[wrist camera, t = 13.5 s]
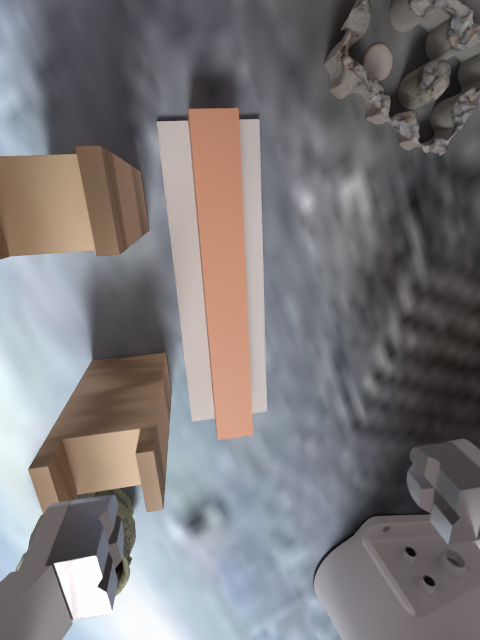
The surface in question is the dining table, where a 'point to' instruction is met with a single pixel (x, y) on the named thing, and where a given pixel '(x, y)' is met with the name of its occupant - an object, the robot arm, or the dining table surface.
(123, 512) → the vessel
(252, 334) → the mat
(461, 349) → the dining table surface
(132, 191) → the post near
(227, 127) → the rail
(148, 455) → the post far
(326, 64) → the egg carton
